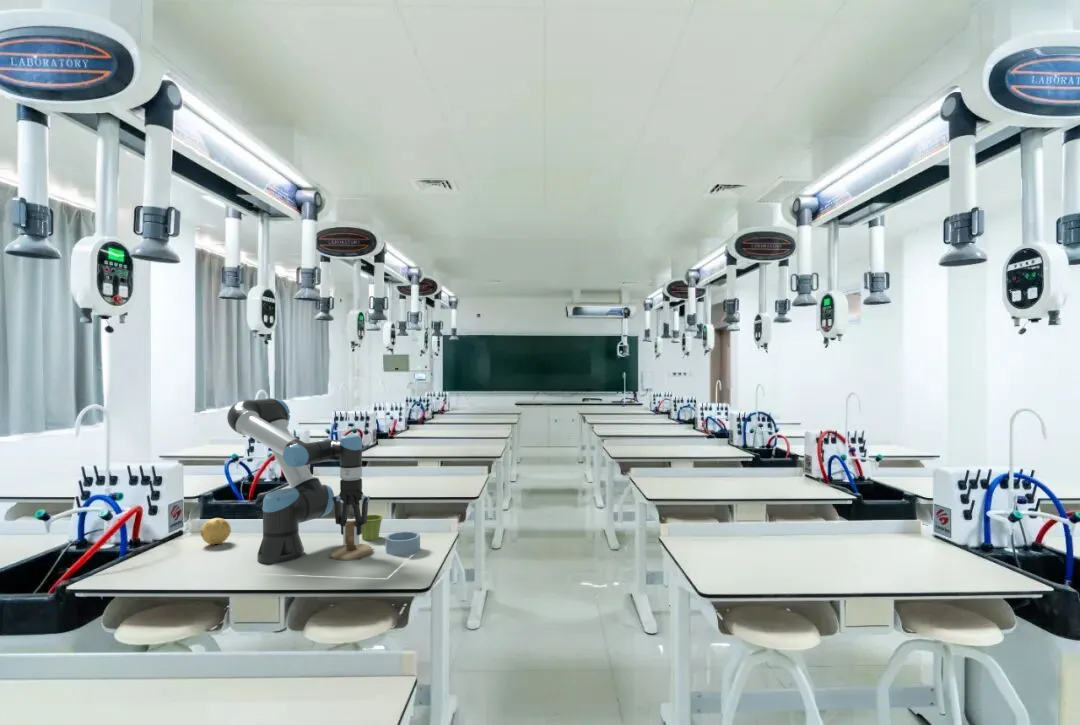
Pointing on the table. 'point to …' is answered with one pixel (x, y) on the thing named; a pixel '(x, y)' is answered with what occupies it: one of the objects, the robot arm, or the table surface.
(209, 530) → the potato
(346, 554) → the lid
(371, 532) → the plant pot
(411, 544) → the bowl
